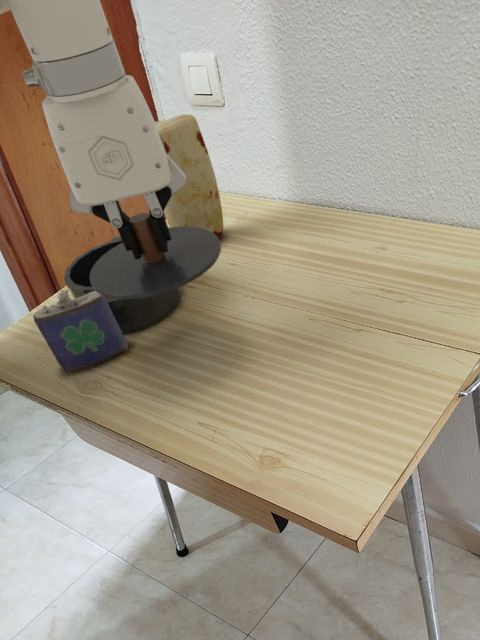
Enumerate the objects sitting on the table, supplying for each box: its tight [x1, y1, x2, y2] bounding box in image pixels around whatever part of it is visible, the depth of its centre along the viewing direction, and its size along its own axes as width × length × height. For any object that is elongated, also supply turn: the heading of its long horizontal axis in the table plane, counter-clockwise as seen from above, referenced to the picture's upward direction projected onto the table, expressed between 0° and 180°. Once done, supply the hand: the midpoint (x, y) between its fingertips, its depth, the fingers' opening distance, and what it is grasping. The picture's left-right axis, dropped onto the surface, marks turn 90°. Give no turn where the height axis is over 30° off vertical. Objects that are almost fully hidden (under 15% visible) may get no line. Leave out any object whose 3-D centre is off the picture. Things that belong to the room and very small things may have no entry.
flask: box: [32, 289, 129, 375], centre depth 77 cm, size 9×3×11 cm, turn 114°
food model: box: [155, 114, 225, 240], centre depth 95 cm, size 10×7×20 cm
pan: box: [63, 235, 182, 335], centre depth 87 cm, size 15×20×8 cm
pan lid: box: [90, 212, 222, 299], centre depth 67 cm, size 16×16×6 cm
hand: (151, 249), depth 68 cm, fingers closed on pan lid, 2 cm apart
